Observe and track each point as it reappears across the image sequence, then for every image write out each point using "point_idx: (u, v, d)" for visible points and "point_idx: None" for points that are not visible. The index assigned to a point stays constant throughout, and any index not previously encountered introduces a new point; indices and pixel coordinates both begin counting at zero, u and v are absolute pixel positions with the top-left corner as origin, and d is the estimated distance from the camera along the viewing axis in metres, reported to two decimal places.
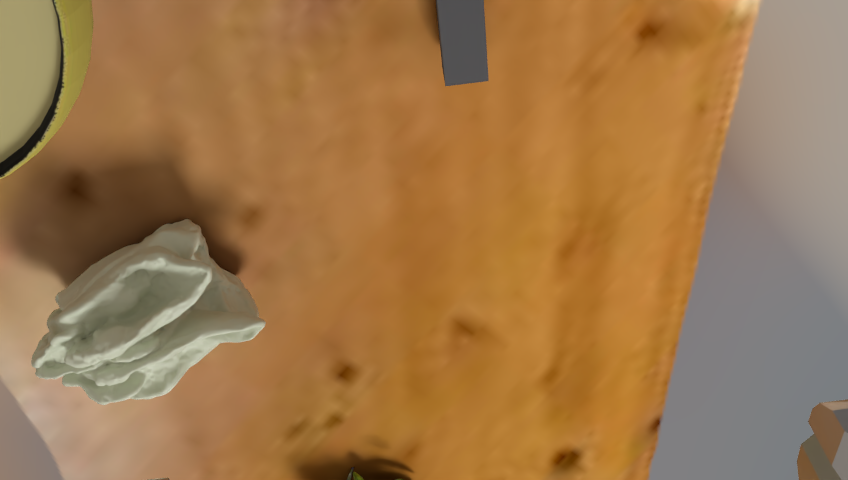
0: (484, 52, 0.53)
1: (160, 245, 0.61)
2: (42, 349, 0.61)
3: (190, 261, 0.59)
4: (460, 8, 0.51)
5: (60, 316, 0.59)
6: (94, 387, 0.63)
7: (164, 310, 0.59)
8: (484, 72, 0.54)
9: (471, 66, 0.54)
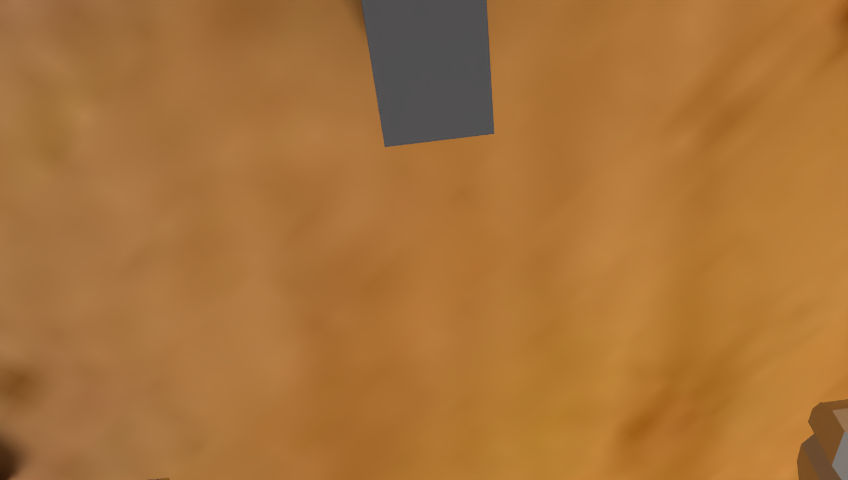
0: (484, 62, 0.20)
1: None
2: None
3: None
4: None
5: None
6: None
7: None
8: (484, 113, 0.21)
9: (450, 99, 0.21)
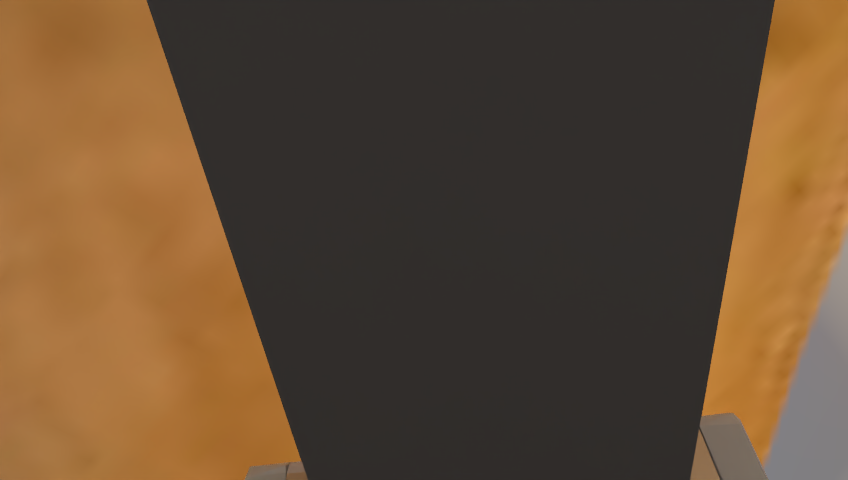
0: None
1: None
2: None
3: None
4: None
5: None
6: None
7: None
8: None
9: None
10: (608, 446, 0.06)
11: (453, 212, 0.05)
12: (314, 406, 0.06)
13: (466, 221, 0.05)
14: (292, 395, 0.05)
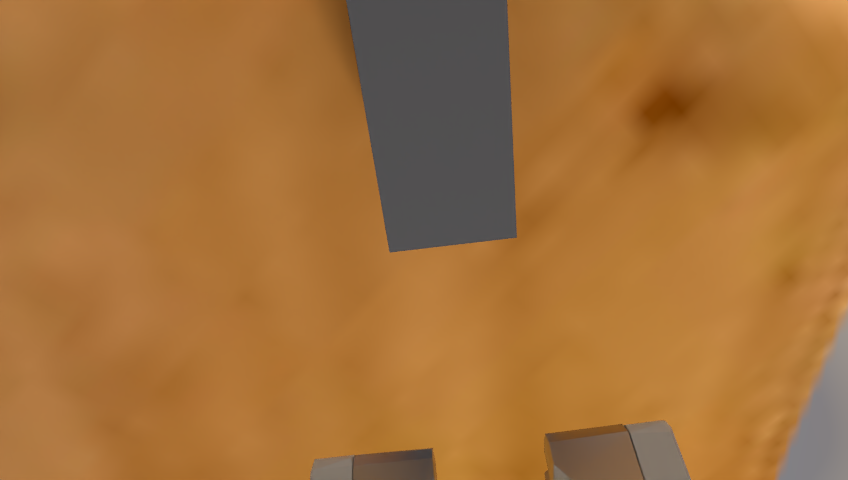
0: (506, 161, 0.17)
1: None
2: None
3: None
4: (428, 27, 0.15)
5: None
6: None
7: None
8: (505, 215, 0.18)
9: (467, 201, 0.18)
10: None
11: None
12: None
13: None
14: None
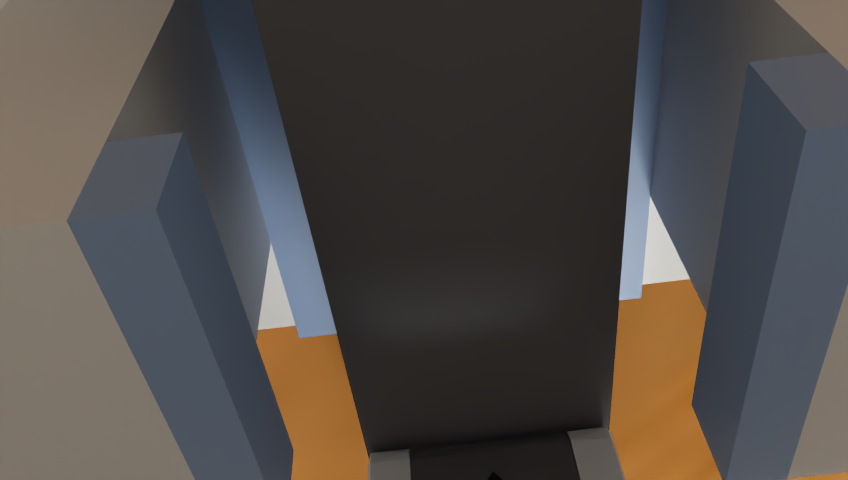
0: None
1: None
2: None
3: None
4: None
5: None
6: None
7: None
8: None
9: None
10: None
11: (463, 334, 0.08)
12: (380, 432, 0.09)
13: (469, 337, 0.09)
14: (368, 426, 0.09)
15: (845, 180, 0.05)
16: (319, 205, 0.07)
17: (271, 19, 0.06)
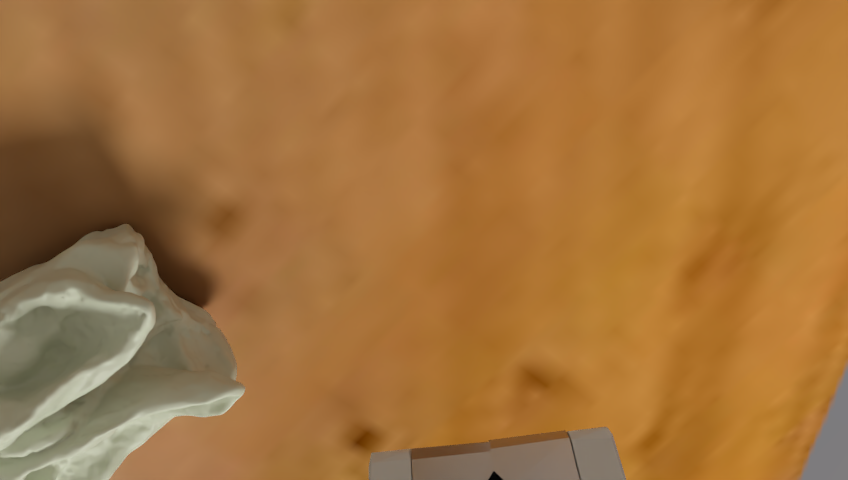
0: None
1: (74, 267, 0.38)
2: None
3: (119, 294, 0.36)
4: None
5: None
6: None
7: (78, 375, 0.36)
8: None
9: None
10: None
11: None
12: None
13: None
14: None
15: None
16: None
17: None
